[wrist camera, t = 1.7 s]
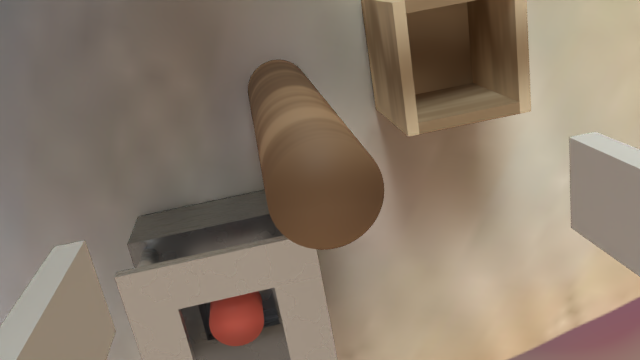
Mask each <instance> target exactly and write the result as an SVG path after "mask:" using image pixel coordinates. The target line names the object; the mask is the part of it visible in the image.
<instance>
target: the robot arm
mask: <svg viewBox="0 0 640 360" xmlns="http://www.w3.org/2000/svg"><path fill="white" fill-rule="evenodd" d="M569 154H570V201H571V228H572V229H573V230H575V231H576V232H578V233H579V234H580V235H582V236H583V237H585V238H586V239H588V240H589V241H590V242H592V243H593V244H595V245H596V246H597V247H599V248H600V249H602V250H603V251H604V252H606V253H607V254H609V255H610V256H611V257H613V258H614V259H616V260H617V261H619V262H620V263H621V264H623V265H624V266H626V267H627V268H628V269H630V270H631V271H633V272H634V273H635V274H637V275H638V276H640V149H638V148H635V147H633V146H630V145H628V144H625V143H623V142H620V141H618V140H615V139H613V138H610V137H607V136H605V135H602V134H600V133H597V132H591V133H587V134H582V135H577V136H573V137H569ZM115 332H116V330H115V327H114V324H113V321H112V318H111V316H110V313H109V310H108V307H107V304H106V301H105V298H104V295H103V292H102V289H101V286H100V283H99V281H98V278H97V275H96V272H95V269H94V266H93V263H92V260H91V257H90V254H89V251H88V248H87V246H86V243H85V240H83V241H79V242H74V243H69V244H64V245H60V246H55V247H54V248H53V249H52V251H51V252H50V254H49V255H48V257H47V258H46V259H45V261H44V262H43V264H42V265H41V267H40V268H39V270H38V271H37V273H36V274H35V276H34V277H33V279H32V280H31V282H30V283H29V285H28V286H27V288H26V289H25V291H24V292H23V293H22V295H21V296H20V298H19V299H18V301H17V302H16V304H15V305H14V307H13V308H12V310H11V311H10V313H9V314H8V316H7V317H6V319H5V320H4V322H3V323H2V325H1V326H0V360H106V359H107V356H108V353H109V350H110V347H111V344H112V341H113V338H114V335H115Z"/></svg>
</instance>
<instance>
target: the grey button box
mask: <svg viewBox="0 0 640 360" xmlns="http://www.w3.org/2000/svg"><path fill="white" fill-rule="evenodd" d="M127 245H128V248H129V251H130V255H131V258H132V261H133V264H134V267H135V268H132V269H128V270H123V271H119V272H117V273H116V275H115V280H116V283H117V286H118V289H119V292H120V295H121V298H122V301H123V304H124V307H125V310H126V313H127V316H128V319H129V322H130V325H131V328H132V331H133V334H134V337H135V340H136V343H137V346H138V349H139V352H140V355H141V358H142V360H338V359H337V354H336V349H335V344H334V338H333V333H332V328H331V323H330V317H329V312H328V307H327V302H326V296H325V291H324V286H323V281H322V275H321V270H320V265H319V260H318V254H317V249H311V248H306V247H303V246H300V245H298V244H296V243H294V242H292V241H291V240H289V239H288V238H286V237H285V236H284V235H283V234H282V233H281V232H280V231H279V230H278V228H277V227H276V226H275V224H274V222H273V221H272V218H271V216H270V213H269V210H268V205H267V200H266V194H265V190H262V191H258V192H253V193H248V194H243V195H239V196H234V197H229V198H224V199H220V200H215V201H210V202H206V203H201V204H196V205H191V206H187V207H182V208H177V209H172V210H168V211H163V212H158V213H153V214H149V215H144V216H139V217H138V218H137V221H136V223H135V226H134V228H133V231H132V234H131V236H130V239H129V241H128V244H127ZM257 291H259V293H260V295H261V298H262V305H263V315H264V326H263V329H262V331H261V333H260V335H259V336H258V337H257V338H256V339H255V340H253V341H252V342H250V343H248V344H245V345H242V346H229V345H225V344H223V343H221V342H219V341H218V340H217V339H216V338H215V337H214V336H213V335H212V333H211V331H210V327H209V317H210V302H213V301H217V300H222V299H226V298H230V297H235V296H239V295H244V294H248V293H252V292H257Z"/></svg>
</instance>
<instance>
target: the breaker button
mask: <svg viewBox="0 0 640 360" xmlns="http://www.w3.org/2000/svg"><path fill="white" fill-rule="evenodd" d="M263 326H264V315H263V305H262V298H261V295H260V293H259V291H257V292H252V293H248V294H244V295H239V296H235V297H230V298H226V299H222V300H217V301H213V302H210V317H209V327H210V331H211V333H212V335H213V336H214V337H215V338H216V339H217V340H218V341H219V342H221V343H223V344H225V345H229V346H242V345H245V344H248V343H250V342H252V341H253V340H255V339H256V338H257V337H258V336H259V335H260V333H261V331H262V329H263Z"/></svg>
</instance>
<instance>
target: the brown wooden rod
mask: <svg viewBox="0 0 640 360" xmlns="http://www.w3.org/2000/svg"><path fill="white" fill-rule="evenodd" d="M248 95H249V101H250V107H251V113H252V119H253V125H254V130H255V136H256V142H257V148H258V153H259V159H260V165H261V171H262V177H263V182H264V188H265V194H266V200H267V205H268V210H269V213H270V216H271V218H272V221H273V222H274V224H275V226H276V227H277V228H278V230H279V231H280V232H281V233H282V234H283V235H284V236H285V237H286V238H288V239H289V240H291V241H292V242H294V243H296V244H298V245H300V246H303V247H306V248H311V249H320V250H323V249H333V248H338V247H341V246H344V245H347V244H349V243H351V242H353V241H355V240H356V239H358V238H359V237H360V236H362V235H363V234H364V233H365V232H366V231H367V230H368V229H369V228H370V227H371V226H372V225H373V223H374V222H375V220H376V218H377V217H378V214H379V212H380V210H381V207H382V204H383V199H384V183H383V178H382V174H381V172H380V169H379V167H378V165H377V164H376V162H375V161H374V159H373V158H372V157H371V155H370V154H369V153H368V152H367V151H366V149H365V148H364V147H363V146H362V144H361V143H360V142H359V141H358V140H357V138H356V137H355V136H354V135H353V133H352V132H351V131H350V130H349V128H348V127H347V126H346V125H345V124H344V122H343V121H342V120H341V119H340V117H339V116H338V115H337V114H336V112H335V111H334V110H333V109H332V108H331V106H330V105H329V104H328V103H327V101H326V100H325V99H324V98H323V97H322V95H321V94H320V93H319V92H318V90H317V89H316V88H315V87H314V85H313V84H312V83H311V82H310V81H309V79H308V78H307V77H306V76H305V74H304V73H303V72H302V71H301V70H300V69H299V68H298V67H297V66H296V65H294V64H293V63H291V62H288V61H285V60H272V61H268V62H266V63H264V64H262V65H261V66H259V67H258V68H257V69H256V70H255V71H254V73H253V74H252V76H251V78H250V80H249V84H248Z"/></svg>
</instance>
